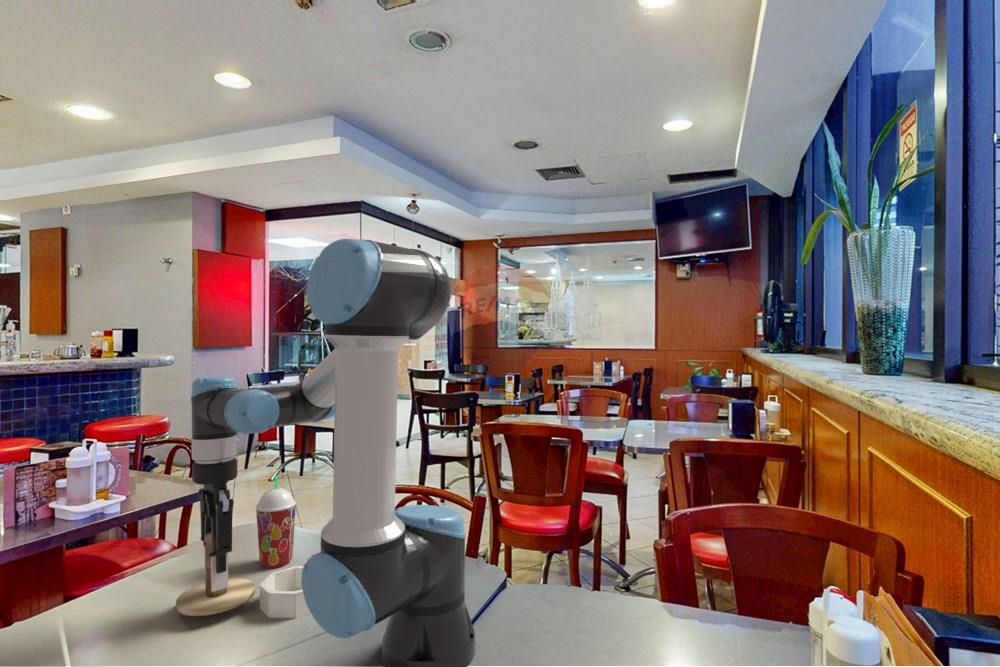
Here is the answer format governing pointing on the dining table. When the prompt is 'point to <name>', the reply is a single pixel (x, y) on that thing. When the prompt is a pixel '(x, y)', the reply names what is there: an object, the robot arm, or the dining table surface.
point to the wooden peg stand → (209, 602)
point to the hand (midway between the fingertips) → (216, 584)
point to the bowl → (283, 594)
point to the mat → (214, 616)
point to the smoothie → (275, 527)
